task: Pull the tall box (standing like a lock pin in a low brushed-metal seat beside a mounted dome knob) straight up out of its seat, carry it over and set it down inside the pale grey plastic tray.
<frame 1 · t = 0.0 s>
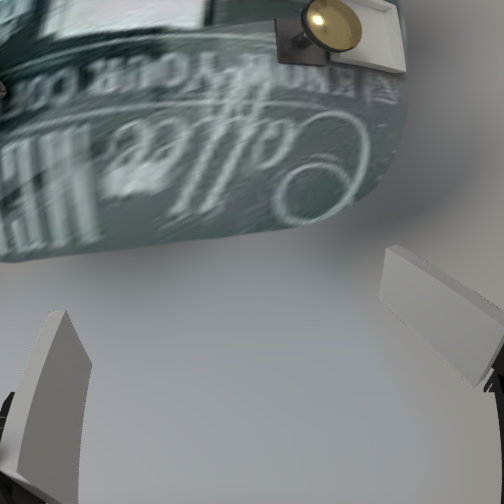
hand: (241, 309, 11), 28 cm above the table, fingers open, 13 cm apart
mounted dome knob: (299, 42, 31), on the table
tray: (360, 31, 32), on the table
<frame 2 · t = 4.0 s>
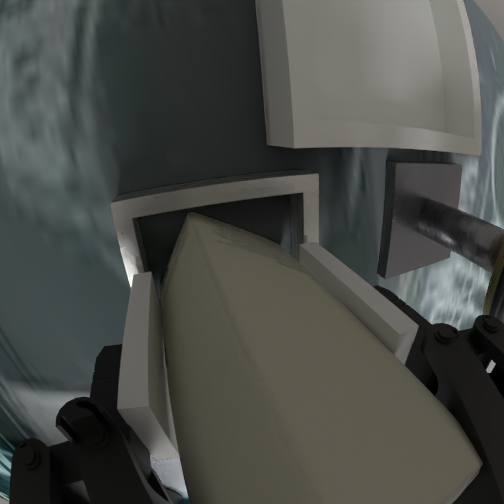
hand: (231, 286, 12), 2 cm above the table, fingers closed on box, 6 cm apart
mounted dome knob: (420, 214, 16), on the table
pin seat: (223, 267, 14), on the table
tray: (371, 33, 11), on the table
box: (223, 265, 14), resting in pin seat, touching gripper
when the fingers open (4 cm above the table, at t = 10.7 s): box drops 1 cm, resting on tray.
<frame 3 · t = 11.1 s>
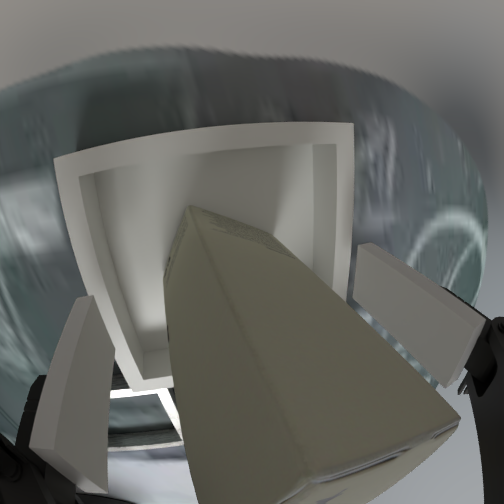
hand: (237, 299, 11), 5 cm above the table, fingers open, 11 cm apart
pin seat: (128, 410, 18), on the table
tray: (216, 251, 16), on the table
box: (220, 254, 15), resting on tray
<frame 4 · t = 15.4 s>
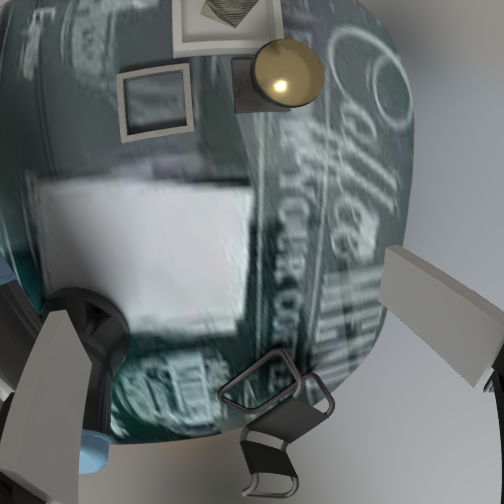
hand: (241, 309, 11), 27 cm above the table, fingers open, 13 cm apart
mounted dome knob: (260, 86, 31), on the table
chair: (264, 381, 52), on the table
pin seat: (154, 102, 29), on the table
tray: (223, 12, 26), on the table
box: (225, 11, 26), resting on tray
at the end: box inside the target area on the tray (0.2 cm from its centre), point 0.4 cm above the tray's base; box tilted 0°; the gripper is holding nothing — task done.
